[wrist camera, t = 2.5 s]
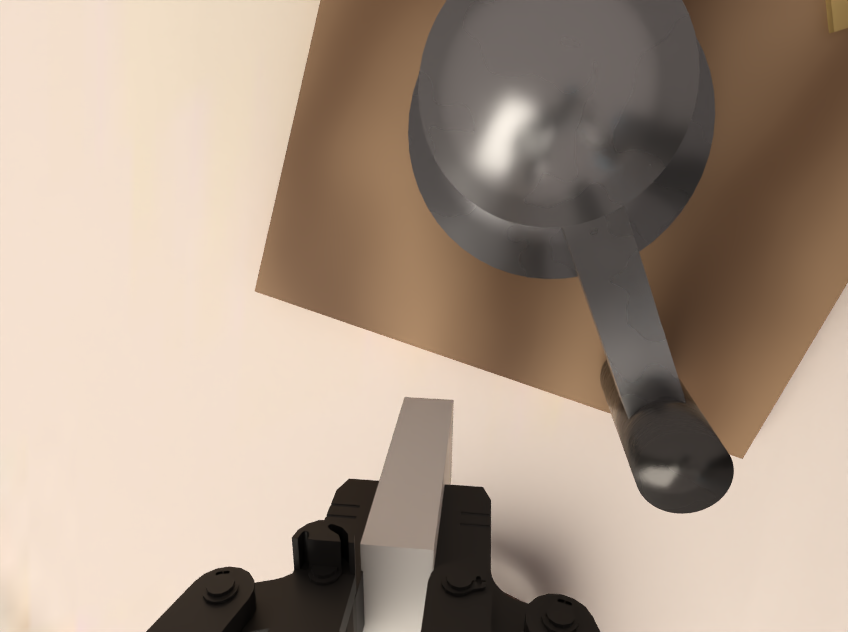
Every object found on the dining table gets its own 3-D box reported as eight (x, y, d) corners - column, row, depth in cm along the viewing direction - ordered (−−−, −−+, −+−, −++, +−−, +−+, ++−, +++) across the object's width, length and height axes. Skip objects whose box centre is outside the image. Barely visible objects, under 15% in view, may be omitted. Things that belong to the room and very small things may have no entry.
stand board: (1056, -118, 17) (1206, -179, 13) (730, 441, 23) (772, 502, 20) (392, -338, 17) (363, -457, 13) (254, 278, 23) (210, 308, 20)
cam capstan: (368, 50, 19) (309, 24, 13) (657, -87, 17) (740, -190, 11) (523, 438, 23) (531, 552, 17) (775, 364, 21) (884, 466, 15)
